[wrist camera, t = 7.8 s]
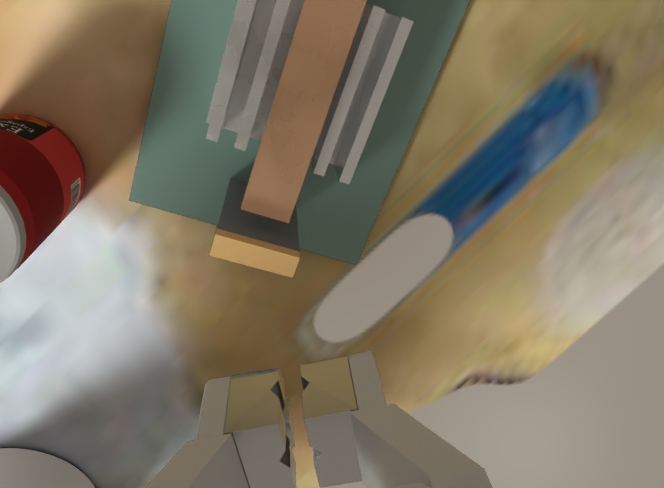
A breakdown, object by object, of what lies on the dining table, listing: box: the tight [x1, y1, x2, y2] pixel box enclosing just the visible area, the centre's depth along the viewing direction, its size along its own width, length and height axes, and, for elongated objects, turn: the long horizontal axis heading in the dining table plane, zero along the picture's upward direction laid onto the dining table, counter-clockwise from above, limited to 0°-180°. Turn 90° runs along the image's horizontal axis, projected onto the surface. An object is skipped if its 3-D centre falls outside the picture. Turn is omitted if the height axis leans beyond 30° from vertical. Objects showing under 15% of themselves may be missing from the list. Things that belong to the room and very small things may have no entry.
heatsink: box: [206, 0, 414, 184], centre depth 32 cm, size 10×10×6 cm
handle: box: [241, 0, 367, 223], centre depth 28 cm, size 17×3×2 cm, turn 160°
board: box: [129, 0, 470, 278], centre depth 31 cm, size 24×18×11 cm
